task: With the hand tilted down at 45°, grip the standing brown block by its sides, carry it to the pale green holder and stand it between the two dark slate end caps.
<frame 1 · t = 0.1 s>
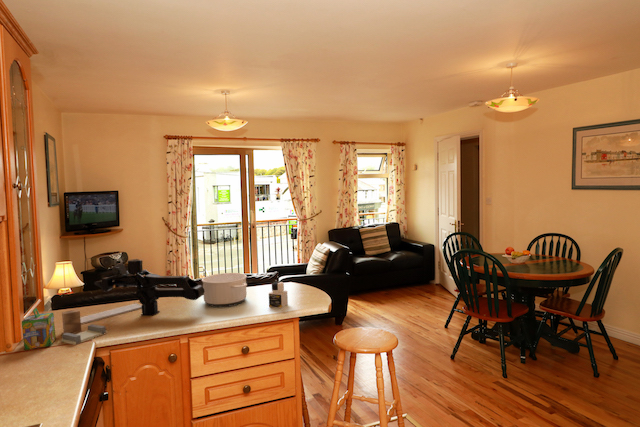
hand: (100, 280, 203), 17 cm above the worktop, tool horizontal, fingers open, 9 cm apart
brown block: (72, 331, 178), on the worktop
medicine bottle: (278, 306, 207), on the worktop
pot: (225, 303, 216), on the worktop
chalk box: (40, 345, 165), on the worktop
holder: (84, 337, 171), on the worktop
baseboard: (109, 315, 204), on the worktop
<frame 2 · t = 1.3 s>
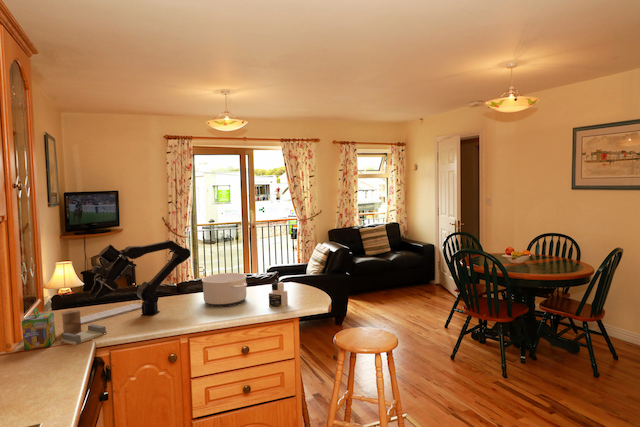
hand: (92, 297, 183), 14 cm above the worktop, tool tilted 45°, fingers open, 9 cm apart
nothing on the worktop moved.
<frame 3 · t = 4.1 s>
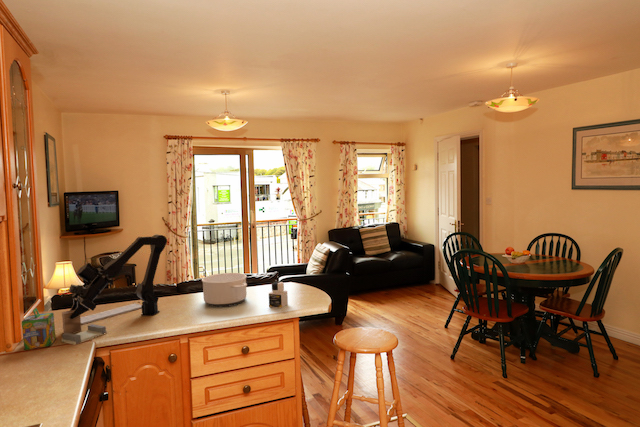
hand: (69, 317, 177), 7 cm above the worktop, tool tilted 45°, fingers closed on brown block, 4 cm apart
brown block: (72, 331, 178), on the worktop, touching gripper
everything else where it was.
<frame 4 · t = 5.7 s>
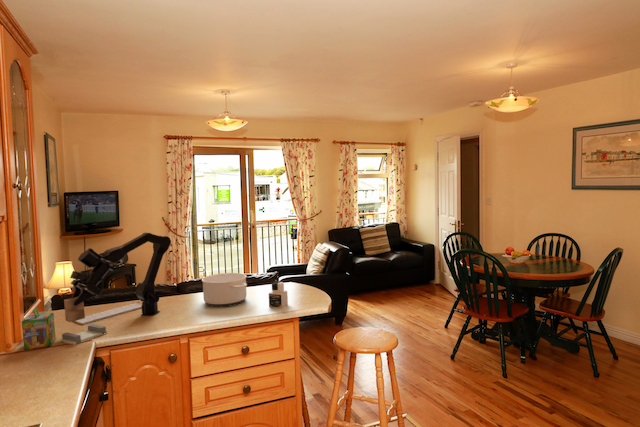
hand: (72, 304, 173), 13 cm above the worktop, tool tilted 45°, fingers closed on brown block, 4 cm apart
brown block: (75, 319, 174), point 7 cm above the worktop, touching gripper
everything else where it was.
when the fingers open (8 cm above the worktop, at t = 7.4 s): brown block stays where it is, resting on holder.
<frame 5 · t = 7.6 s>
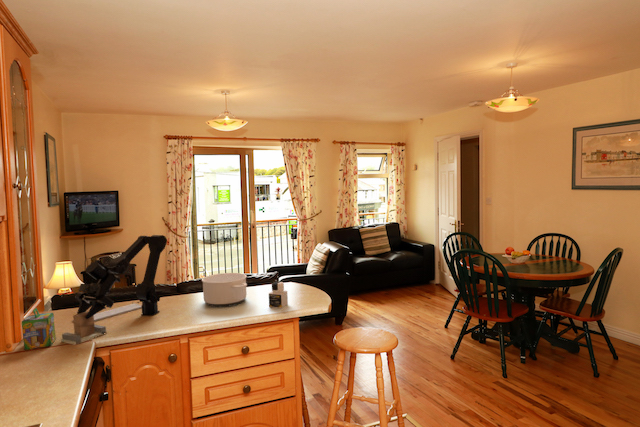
hand: (81, 317, 170), 9 cm above the worktop, tool tilted 45°, fingers open, 6 cm apart
brown block: (84, 334, 171), point 1 cm above the worktop, touching holder
everything else where it was.
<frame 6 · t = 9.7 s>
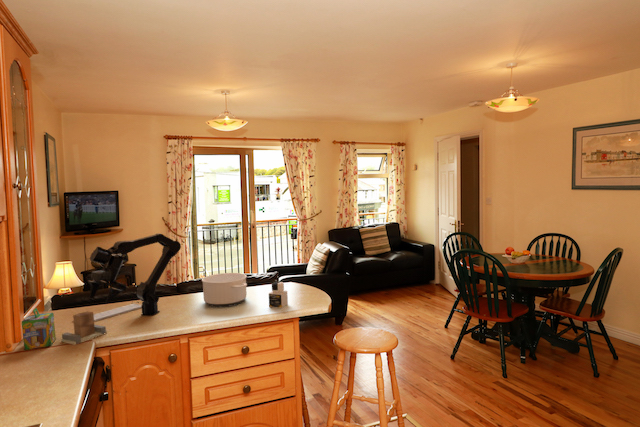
hand: (98, 300, 183), 12 cm above the worktop, tool tilted 25°, fingers open, 9 cm apart
nothing on the worktop moved.
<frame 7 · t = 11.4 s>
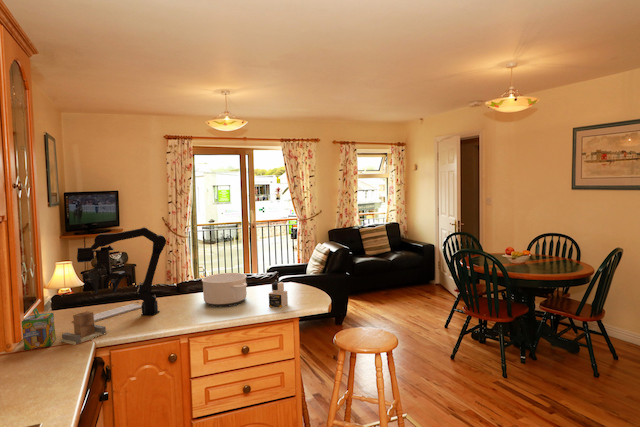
hand: (105, 293, 192), 13 cm above the worktop, tool pointing down, fingers open, 9 cm apart
nothing on the worktop moved.
at the end: brown block 0.2 cm from the holder (horizontally); brown block tilted 0°; the gripper is holding nothing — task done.
